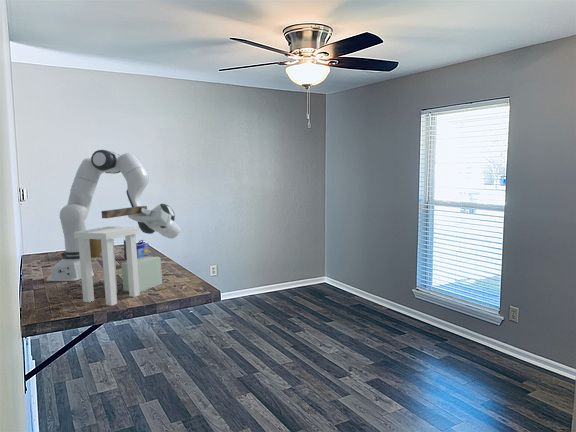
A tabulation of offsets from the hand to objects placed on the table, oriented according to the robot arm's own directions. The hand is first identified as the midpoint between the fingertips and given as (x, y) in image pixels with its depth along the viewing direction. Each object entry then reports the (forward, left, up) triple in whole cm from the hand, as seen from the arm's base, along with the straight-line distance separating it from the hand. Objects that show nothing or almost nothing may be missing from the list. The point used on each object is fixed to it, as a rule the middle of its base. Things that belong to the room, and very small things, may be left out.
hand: (137, 209), depth 203 cm
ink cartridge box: (-13, +55, -37) cm, 68 cm away
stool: (-9, -16, -37) cm, 41 cm away
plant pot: (-51, +90, -37) cm, 110 cm away
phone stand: (-24, +75, -37) cm, 87 cm away
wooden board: (-4, -6, -2) cm, 7 cm away
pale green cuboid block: (0, 0, -37) cm, 37 cm away
